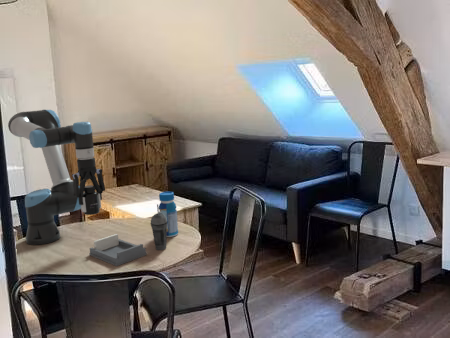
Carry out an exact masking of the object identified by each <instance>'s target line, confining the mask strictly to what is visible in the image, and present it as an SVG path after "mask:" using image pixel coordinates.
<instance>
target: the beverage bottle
mask: <svg viewBox="0 0 450 338" xmlns="http://www.w3.org/2000/svg"><path fill="white" fill-rule="evenodd" d="M158 197H159V202H160V203H159V204H158V208H159V213H161V214H163V215H164V216H165V217H166V219H167V238H171V237H176V236H177V235H179V227H178V224H179V223H178V211H177V205H176V203H175V201H174V200H175V194H174V191H163V192H162V191H161V192H159V196H158Z"/></svg>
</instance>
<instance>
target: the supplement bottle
mask: <svg viewBox="0 0 450 338" xmlns="http://www.w3.org/2000/svg"><path fill="white" fill-rule="evenodd" d="M83 197H85V204H86V212H83V214H84V215H86V216H92V215H97V214H99V213H100V212H101V210H100V209H101V208H99V199H98V193H97V192H96V189H95V186H94V185H93V184H92V185H85V189H84V194H83Z"/></svg>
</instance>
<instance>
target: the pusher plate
mask: <svg viewBox="0 0 450 338" xmlns="http://www.w3.org/2000/svg"><path fill="white" fill-rule="evenodd" d="M119 239H120V238H119V234H118V233H115V234H112V235H109V236H105V237H103V238H99V239H96V240H93V248H95V249H97V250H100V251H102V250H105V249H108V248H111V247H114V246H117V245H119Z"/></svg>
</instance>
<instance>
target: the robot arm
mask: <svg viewBox="0 0 450 338" xmlns="http://www.w3.org/2000/svg"><path fill="white" fill-rule="evenodd" d="M7 127H8V130H9V131H10V133H11V134H12V135H13V136H15V137H17V138H24V139H26V140H29V143H30V145H31V147H32V148H33V149H38V148H39V149H41V150H42V154H43V157H44V160H45V163H46V167H47V170H48V174H49V176H50V179H51V183H52V186H51V188H50V189H49V188H42V189H36V190H33V191H31V192H29V193H27V194H26V195H25V196H24V208H25V212H26V213H25V214H26V220H27V230H26V233H25V234H26V236H25V241H26V244H28V245H31V246H32V245H33V246H34V245H35V246H36V245H38V246H39V245H46V244H50V243H53V242H56V241H58V240H59V239H60V238H61V234H60V230H59V228H58V226H57V224H56V222H55V217H54V216H57V215H58V216H59V215H61V214H62V215H63V214H67V213H72V212H75V211H78V210H81V212H83V213H84V212H86V204H85V197H83V194H84V189H85V186H86V184H87V182H88V180H89V181H91V184H92V185H93V186H95V191H96V192H97V193H98V199H99V209H102V202H101V201H102V200H103V195H102V194H103V193H104V192H105V191H106V186H105V182H104V177H103V169H102V168H96V158H95V150H94V149H95V148H94V138H93V129H92V123H91V122H89V121H79V122H78V121H77V122H74V123H73V125H72V124H71V125H66V126H61V121H60V118H59V115H58V114H57V112H55V110H52V109H40V110H39V109H38V110H32V111H31V110H29V111H21V112H18V113H15V114H14V115H12V117H10V119H9V121H8V123H7ZM68 144H70V145H71V144H74V147H75V157H76V163H77V164H76V165H77V172H76V173H72V175H71V176H70V174H69V170H68V168H67V164H66V161H65V158H64V154H63V151H62V149H61V148H62V147H61V146H62V145H68ZM96 176H97V177H96ZM71 177H72V179H71ZM79 178H80V179H79Z"/></svg>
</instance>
